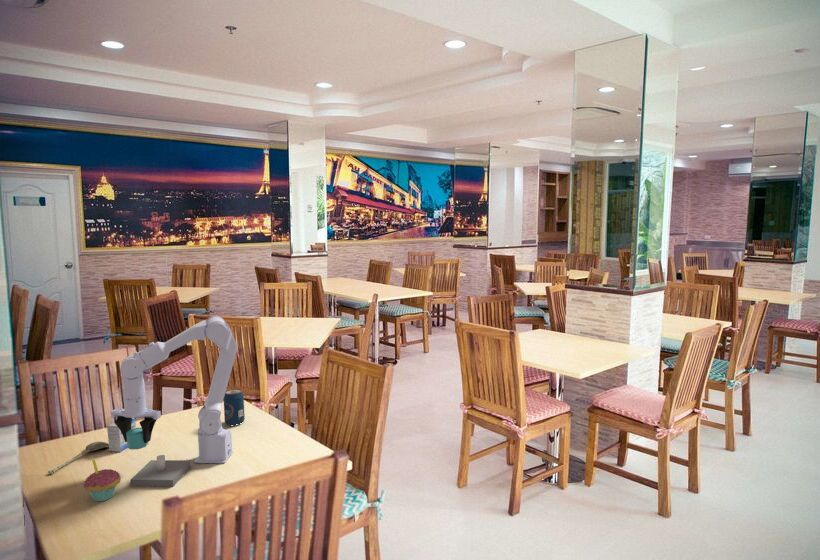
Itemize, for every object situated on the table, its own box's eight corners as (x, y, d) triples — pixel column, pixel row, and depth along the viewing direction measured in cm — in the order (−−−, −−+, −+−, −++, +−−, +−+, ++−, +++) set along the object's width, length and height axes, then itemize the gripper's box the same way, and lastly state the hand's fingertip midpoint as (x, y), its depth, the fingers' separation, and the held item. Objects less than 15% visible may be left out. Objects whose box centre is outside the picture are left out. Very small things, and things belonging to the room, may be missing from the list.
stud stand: (191, 466, 164) (189, 447, 163) (173, 486, 152) (172, 466, 151) (151, 466, 164) (150, 447, 163) (130, 486, 152) (129, 466, 151)
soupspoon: (116, 448, 180) (99, 447, 181) (115, 438, 179) (98, 437, 181) (58, 477, 158) (40, 475, 160) (57, 465, 158) (39, 464, 160)
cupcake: (83, 507, 141) (79, 464, 140) (87, 492, 149) (84, 450, 147) (120, 500, 145) (117, 457, 143) (123, 486, 152) (120, 445, 151)
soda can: (220, 424, 196) (219, 392, 195) (235, 418, 202) (234, 387, 201) (233, 428, 193) (232, 395, 191) (248, 421, 199) (247, 390, 197)
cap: (150, 441, 164) (149, 427, 163) (143, 449, 159) (142, 434, 158) (132, 442, 163) (131, 427, 163) (125, 449, 158) (123, 435, 158)
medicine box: (120, 452, 174) (118, 426, 173) (108, 451, 175) (106, 425, 174) (137, 442, 181) (136, 417, 180) (126, 441, 182) (124, 416, 181)
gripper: (165, 393, 162) (168, 436, 164) (120, 391, 164) (123, 434, 166) (151, 401, 155) (154, 446, 157) (104, 399, 157) (108, 444, 159)
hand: (137, 441), depth 161 cm, fingers closed on cap, 5 cm apart
